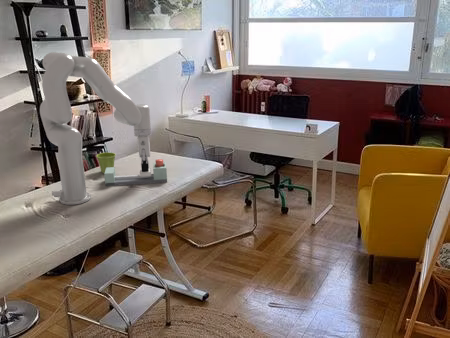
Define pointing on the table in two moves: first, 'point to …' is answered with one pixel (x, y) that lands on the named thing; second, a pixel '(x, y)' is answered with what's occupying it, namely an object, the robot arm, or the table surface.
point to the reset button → (159, 163)
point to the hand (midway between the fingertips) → (145, 169)
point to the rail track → (135, 177)
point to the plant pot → (106, 160)
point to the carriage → (145, 174)
